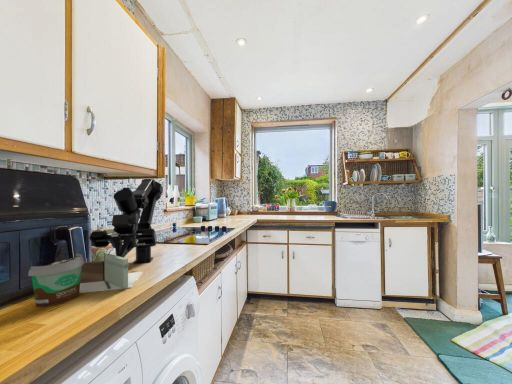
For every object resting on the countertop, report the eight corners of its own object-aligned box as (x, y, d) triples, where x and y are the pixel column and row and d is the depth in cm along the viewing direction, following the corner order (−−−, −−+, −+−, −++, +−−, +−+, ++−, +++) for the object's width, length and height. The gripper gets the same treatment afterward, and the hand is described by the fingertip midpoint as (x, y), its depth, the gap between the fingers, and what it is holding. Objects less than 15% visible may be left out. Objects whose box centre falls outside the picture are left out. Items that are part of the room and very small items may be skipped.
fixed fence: (79, 282, 72) (79, 255, 72) (108, 279, 73) (108, 253, 74) (76, 284, 70) (77, 256, 70) (106, 281, 72) (106, 254, 72)
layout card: (85, 277, 77) (85, 276, 77) (142, 272, 81) (142, 271, 81) (59, 295, 62) (59, 293, 62) (131, 288, 67) (131, 286, 67)
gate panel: (109, 279, 73) (109, 253, 73) (128, 286, 66) (128, 258, 66) (104, 280, 72) (104, 254, 72) (123, 288, 65) (123, 259, 65)
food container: (49, 312, 53) (48, 268, 53) (28, 309, 54) (27, 267, 54) (96, 289, 65) (96, 254, 65) (78, 287, 66) (78, 252, 66)
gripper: (91, 205, 74) (73, 247, 63) (154, 204, 78) (147, 243, 67) (102, 227, 81) (87, 268, 70) (158, 225, 85) (153, 263, 74)
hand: (118, 260), depth 70 cm, fingers closed
